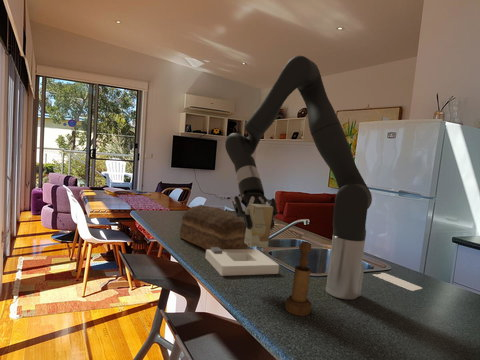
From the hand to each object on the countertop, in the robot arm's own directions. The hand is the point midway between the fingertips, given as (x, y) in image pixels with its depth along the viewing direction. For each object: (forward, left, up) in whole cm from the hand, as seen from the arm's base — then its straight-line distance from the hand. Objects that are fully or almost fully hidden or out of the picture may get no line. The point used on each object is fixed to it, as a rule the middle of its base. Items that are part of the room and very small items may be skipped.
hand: (260, 228), depth 106 cm
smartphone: (-53, +2, -18) cm, 56 cm away
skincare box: (0, -2, -6) cm, 6 cm away
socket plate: (-2, -18, -17) cm, 25 cm away
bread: (0, -43, -18) cm, 46 cm away
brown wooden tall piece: (-4, +17, -18) cm, 25 cm away
